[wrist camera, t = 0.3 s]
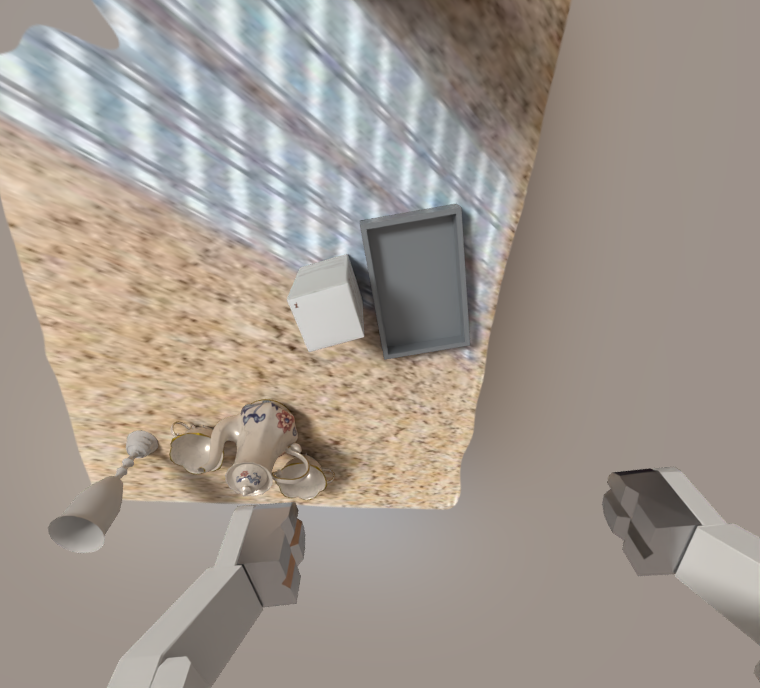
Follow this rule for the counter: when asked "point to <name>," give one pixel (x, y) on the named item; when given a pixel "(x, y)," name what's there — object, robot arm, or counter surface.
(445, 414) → the counter surface
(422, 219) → the tray
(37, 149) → the counter surface
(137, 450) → the chalice
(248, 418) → the chinaware
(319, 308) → the supplement box
